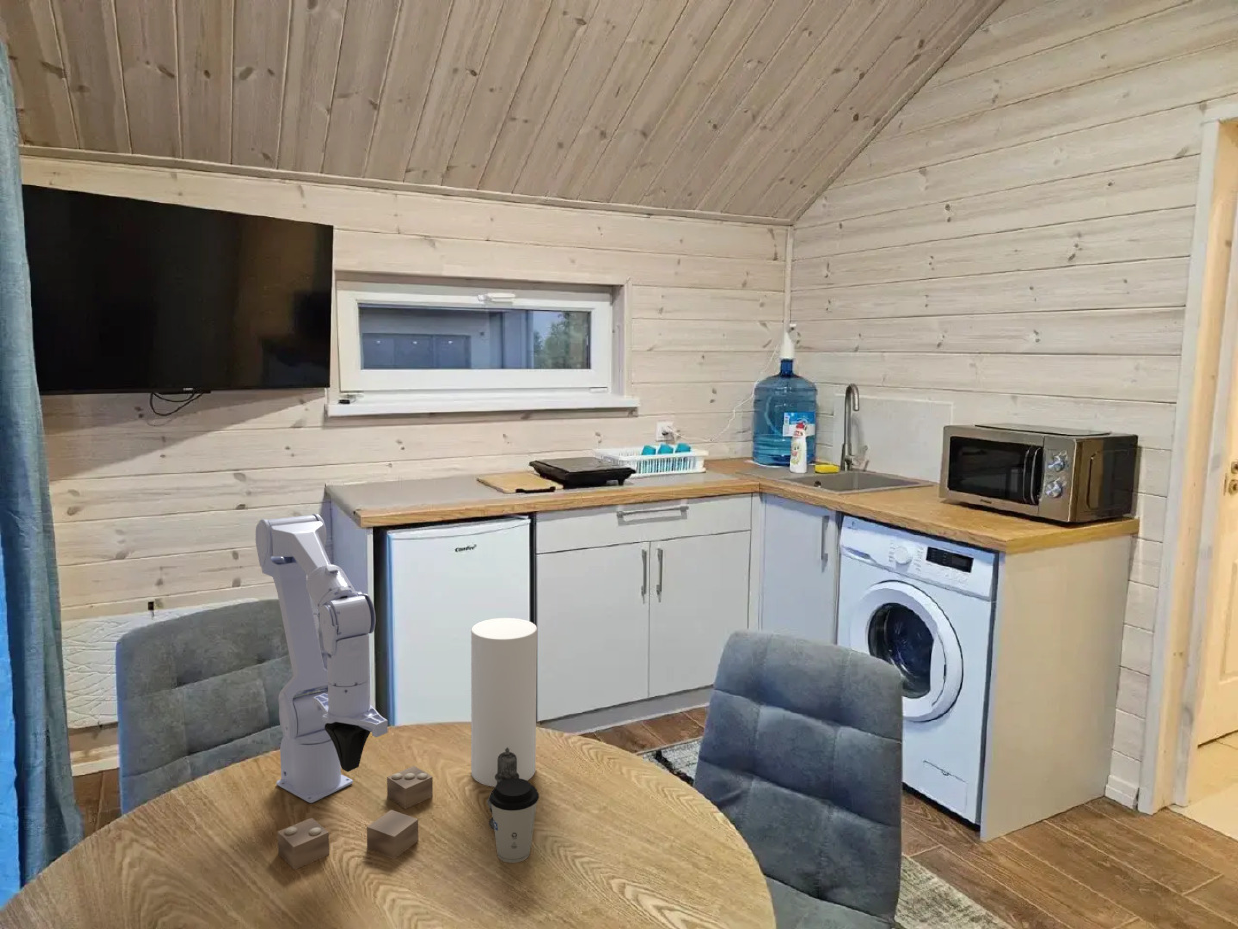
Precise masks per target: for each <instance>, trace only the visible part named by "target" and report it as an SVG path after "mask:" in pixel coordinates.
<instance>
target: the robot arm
mask: <svg viewBox="0 0 1238 929" xmlns="http://www.w3.org/2000/svg"><path fill="white" fill-rule="evenodd" d="M327 534H328V533H327V527H326V524H325V520H324V519H323V517H321V515H320V514H319V513H312V514H308V515H299V516H288V517H280V518H270V519H267V518H261V519H260V520H259V521H258V523H257V524H256V527H255V546H256V552H257V557H258V562H259V566H260V567H261V572H262V574H264V575H266V576H269V577H272V578H273V583H274V585H275V588H276V592H277V597H278V602H279V608H280V614H281V619H282V623H283V628H284V634H285V638H286V640H285V641H286V645H287V650H288V655H289V661H290V666H291V672H292V677H291V679H289V681H288V682H287V683H286V684H285V685H284V686H283V687H282V689H281V690H280V691H279V695H278V698H277V699H278V706H279V707H278V708H279V709H278V715H279V716H278V718H279V724H280V729H281V731H282V733H283V736H282V738H281V741H280V745H279V746H280V747H279V748H280V749H279V753H280V755H279V756H280V779H278V780H277V781H276V785H277V786H278V787H280V788H282V789H284V790H285V791H287V792H289V793H290V794H293V795H295V796H296V797H299V798H300V799H302V800H304V801H305V802H307V803H309V804H313V803H315V802H317V801H319V800H321V799H323V798H325V797H327V796H329V795H332V794H334V793H335V792H337V791H340V790H342V789H344V788H346V787H348V786H350V785H351V784H353V782H354V781H353V779H352V778H349V777H348V776H346V775H344V774H342V770H343V771H345V772H348V773H349V772H351V771H353V770H355V769H357V768H359V766H360V763H361V759H362V755H363V751H364V747H365V745H366V742H367V740H368V738H369V735H370V734H371V735H372V736H373V737H375V738H379V737H381V736H383V735H385V734H387V733H389V732H388V731H389V730H388V725H389V724H388V723H389V722H388V719H386V718H385V717H383V716H382V715H381V714H380V713H379V712H378V711H377V710H376V709H375V707H374V706H373V705H372V704H371V700H370V698H371V697H370V696H371V695H370V692H371V690H370V688H371V687H370V686H371V685H370V684H371V683H370V646H369V645H370V641H369V640H370V637H369V635H368V634H373V633H374V631H375V628H376V620H377V619H376V610H375V606H374V604H373V601H372V599H371V596H370V595H369V594H367V593H362V591H361V590H360V591H356V589H355V588H354V586H353V584H352V582H351V581H350V579H349V578H348V576H347V575H346V573H345V572H344V569H342V567H340V566H338V565H336V564H332V563H331V561H330V559H329V556H328V555H327V552H326V550H325V546H326V543H327V536H328V535H327ZM312 601H313V603H314V604H315V607H316V609H317V610H318V612H319V625H320V626H319V627H320V631H321V635H322V645H323V649H324V650H325V651H326V660H327V661H326V665H327V668H326V667H325V666H324V665H325V664H324V661H323V655H322V650H321V644H320V639H319V635H318V631H317V625H316V621H315V620H316V619H315V614H314V610H313V605H312ZM317 691H318V692H317ZM299 695H300V696H299Z"/></svg>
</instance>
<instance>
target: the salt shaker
mask: <svg viewBox="0 0 1238 929" xmlns="http://www.w3.org/2000/svg"><path fill="white" fill-rule="evenodd" d="M505 751H506V752H503V753H501V754H500V755H499V756H498V760H497V774H496V775H495V780H496V781H497V783H498V782H500V781H501V780H504V779H513V778H519V774H518V773H517V757H516V755H515V754H514V753H512V752H509V748H508V747H507V748H506V749H505ZM486 805H487V807H488V808H489V811H490V814H491V816H492V817H491V818H489V820H488V826H489V828H490V829H491V830H493V831H494V822H493V814H492V806H491V802H490V801H489V797H488V798H487V800H486Z"/></svg>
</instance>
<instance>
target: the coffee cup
mask: <svg viewBox="0 0 1238 929" xmlns="http://www.w3.org/2000/svg"><path fill="white" fill-rule="evenodd" d="M488 798H489V801H490V802H491V806H492V814H493V815H492V814H491V815H492V817H493V822H494V830H493V831H494V839H495V845H496V855H497V857H498V859H500V860H501V861H502V862H504V863H509V864H515V863H516V864H517V863H520V862H524V860H526V859H528V858H529V856H530V854H531V847H532V839H533V833H534V826H535V818H536V812H537V805H538V801H539V798H540V793H539V792H538V789H537V787H535V785H532V783H530V781H529V780H524V779H519V778H513V779H504V780H501V781H500V782H498V783H497V785H496V786H495V787H494V788H493V789H492V790H491V792H490V793H489V796H488Z"/></svg>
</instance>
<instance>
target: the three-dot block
mask: <svg viewBox="0 0 1238 929" xmlns="http://www.w3.org/2000/svg"><path fill="white" fill-rule="evenodd" d="M433 778H434V777H433V776H432V775H430V774H429V773H427V772H425V771H424V770H422V769H421V768H418V767H417V766H415V765H412V766H410V767H408V768H404V769H403V770H400V771H398V772H395V773H393V774H391V775H389V776H387V777H386V792H387V793H386V797H387V798H389V799H390V800H391V801H393V802H394V803H396V804H398V805H399V806H401V807H402V808H403V809H409V808H411V807H413V806H415V805H417V804H419V803H421V802H424V801H425V800H428V799H430V798H432V797H434V796H433V794H434V792H433V786H434V785H433V784H434V782H433Z"/></svg>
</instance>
